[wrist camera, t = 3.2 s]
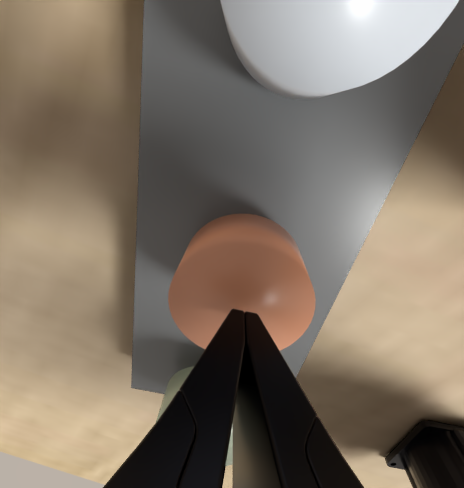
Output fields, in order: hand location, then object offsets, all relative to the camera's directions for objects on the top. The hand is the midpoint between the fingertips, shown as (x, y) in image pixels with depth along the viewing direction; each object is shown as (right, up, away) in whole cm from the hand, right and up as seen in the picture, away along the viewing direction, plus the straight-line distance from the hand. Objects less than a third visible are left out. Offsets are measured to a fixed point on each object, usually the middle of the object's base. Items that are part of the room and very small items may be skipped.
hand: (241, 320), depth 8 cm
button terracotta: (0, +1, +3) cm, 3 cm away
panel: (0, +3, +5) cm, 6 cm away
